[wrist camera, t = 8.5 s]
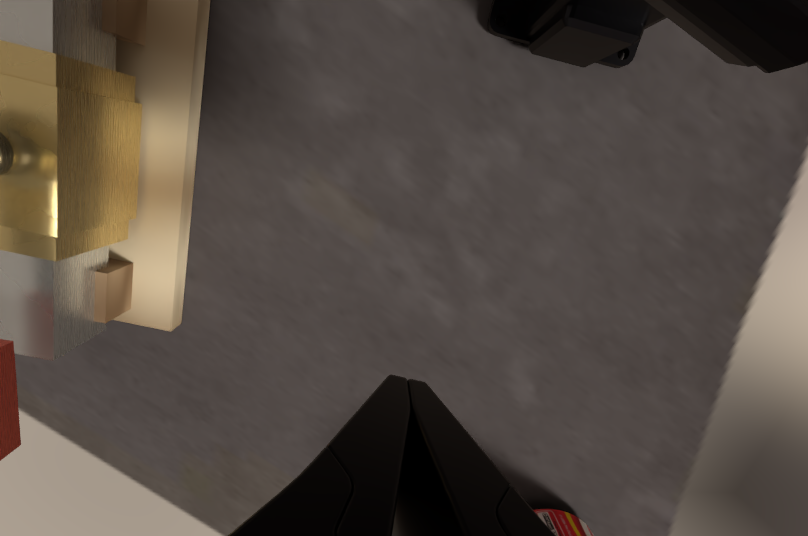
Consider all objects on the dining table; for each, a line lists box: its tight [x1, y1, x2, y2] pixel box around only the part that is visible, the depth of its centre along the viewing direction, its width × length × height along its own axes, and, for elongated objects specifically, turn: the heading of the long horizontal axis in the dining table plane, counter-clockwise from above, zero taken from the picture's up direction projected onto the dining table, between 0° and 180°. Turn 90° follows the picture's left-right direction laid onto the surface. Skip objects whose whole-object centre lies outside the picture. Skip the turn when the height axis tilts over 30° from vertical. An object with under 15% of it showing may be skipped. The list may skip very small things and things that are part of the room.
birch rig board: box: [94, 0, 210, 331], centre depth 17 cm, size 16×8×3 cm, turn 167°
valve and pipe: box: [0, 0, 142, 361], centre depth 15 cm, size 16×4×5 cm, turn 167°
